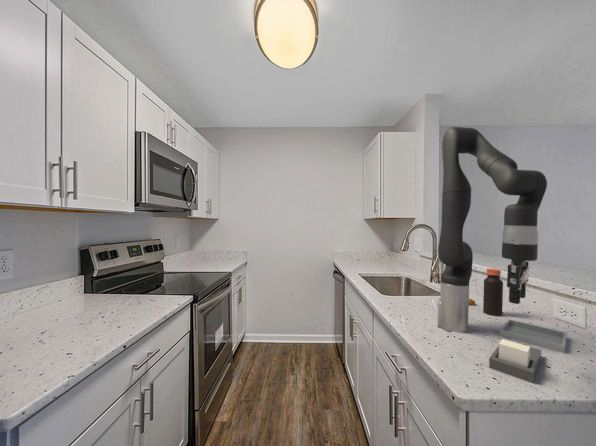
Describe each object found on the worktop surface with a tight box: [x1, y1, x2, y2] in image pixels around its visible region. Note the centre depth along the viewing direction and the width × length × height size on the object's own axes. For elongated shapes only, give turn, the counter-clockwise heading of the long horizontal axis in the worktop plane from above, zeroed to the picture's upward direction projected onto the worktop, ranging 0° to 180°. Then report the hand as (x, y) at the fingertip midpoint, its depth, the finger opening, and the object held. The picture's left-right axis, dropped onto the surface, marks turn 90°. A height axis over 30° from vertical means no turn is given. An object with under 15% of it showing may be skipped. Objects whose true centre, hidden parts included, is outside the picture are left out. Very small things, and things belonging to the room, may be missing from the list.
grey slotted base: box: [488, 345, 542, 384], centre depth 74 cm, size 9×18×3 cm, turn 132°
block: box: [498, 338, 531, 368], centre depth 71 cm, size 6×4×6 cm
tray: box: [498, 318, 568, 354], centre depth 91 cm, size 16×16×2 cm
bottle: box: [482, 268, 504, 317], centre depth 114 cm, size 7×7×20 cm
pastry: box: [469, 298, 476, 307], centre depth 130 cm, size 9×7×4 cm
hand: (517, 300), depth 72 cm, fingers open, 8 cm apart
